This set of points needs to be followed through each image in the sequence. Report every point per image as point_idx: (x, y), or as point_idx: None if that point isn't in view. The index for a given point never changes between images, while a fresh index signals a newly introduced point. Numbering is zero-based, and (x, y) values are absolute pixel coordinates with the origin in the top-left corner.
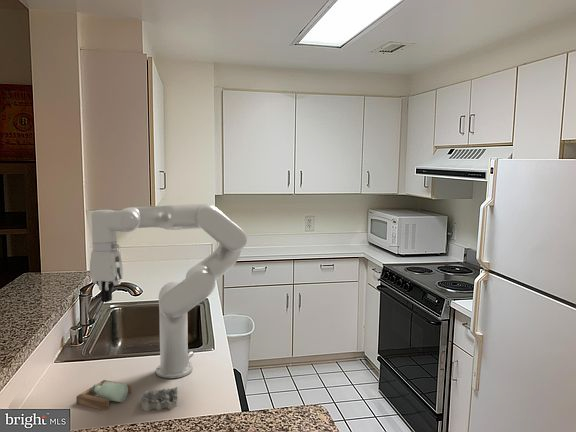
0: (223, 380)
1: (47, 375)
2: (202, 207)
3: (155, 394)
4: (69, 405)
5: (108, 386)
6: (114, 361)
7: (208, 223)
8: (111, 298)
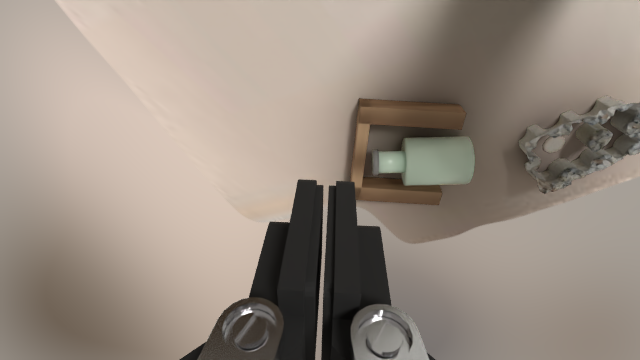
0: None
1: (133, 84)
2: None
3: (563, 134)
4: None
5: (430, 182)
6: None
7: None
8: (354, 195)
